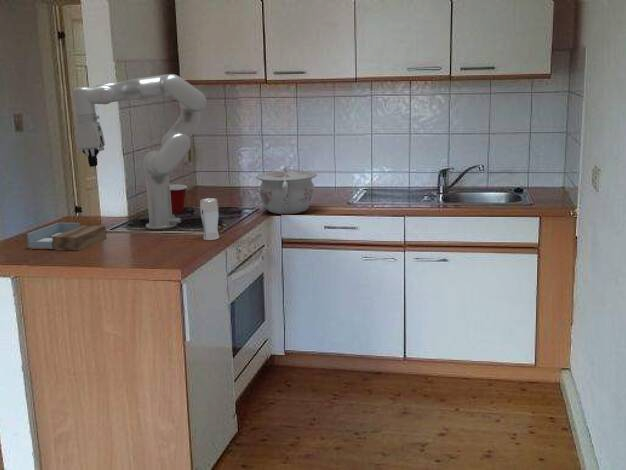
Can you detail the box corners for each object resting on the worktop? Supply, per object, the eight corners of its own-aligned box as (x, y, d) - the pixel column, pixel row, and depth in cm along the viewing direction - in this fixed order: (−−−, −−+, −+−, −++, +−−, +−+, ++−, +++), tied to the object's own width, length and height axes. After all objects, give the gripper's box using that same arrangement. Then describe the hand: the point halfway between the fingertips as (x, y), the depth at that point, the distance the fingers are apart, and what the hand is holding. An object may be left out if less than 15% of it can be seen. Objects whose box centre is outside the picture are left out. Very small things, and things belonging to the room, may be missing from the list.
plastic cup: (171, 214, 317) (169, 188, 314) (161, 211, 325) (159, 186, 322) (193, 211, 323) (191, 185, 320) (182, 208, 331) (180, 183, 329)
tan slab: (106, 238, 271) (105, 226, 270) (77, 250, 253) (76, 237, 251) (83, 237, 274) (82, 225, 273) (53, 250, 255) (52, 236, 254)
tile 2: (44, 238, 264) (45, 243, 264) (36, 241, 259) (37, 246, 259) (56, 238, 263) (56, 243, 263) (48, 241, 258) (49, 246, 258)
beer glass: (211, 235, 270) (209, 197, 267) (224, 237, 266) (221, 199, 263) (198, 239, 265) (195, 200, 262) (210, 241, 261) (208, 201, 258)
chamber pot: (285, 204, 332) (283, 161, 328) (330, 209, 315) (329, 164, 310) (243, 214, 311) (241, 168, 307) (289, 220, 294) (288, 172, 289)
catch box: (82, 237, 274) (81, 223, 273) (52, 250, 255) (50, 234, 254) (60, 237, 276) (58, 222, 275) (28, 249, 258) (26, 233, 256)
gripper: (108, 117, 271) (115, 163, 275) (74, 119, 274) (81, 165, 279) (99, 119, 264) (106, 166, 268) (63, 121, 267) (71, 168, 272)
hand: (93, 166), depth 274 cm, fingers closed
